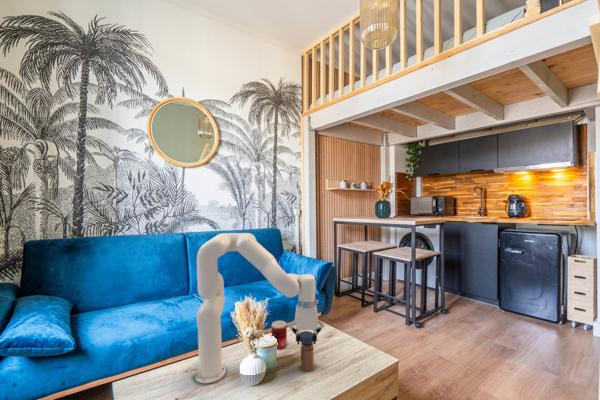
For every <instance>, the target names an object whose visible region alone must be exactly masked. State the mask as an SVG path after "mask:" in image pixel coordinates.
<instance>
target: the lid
mask: <svg viewBox="0 0 600 400" xmlns="http://www.w3.org/2000/svg"><path fill="white" fill-rule="evenodd" d="M313 333H314V332H312V331H309V330H302V331H301V332H299V343H300V344H301V343H304V344H309V343H312V342H313V341H314V334H313ZM313 343H314V342H313Z"/></svg>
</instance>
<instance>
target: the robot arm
mask: <svg viewBox="0 0 600 400" xmlns="http://www.w3.org/2000/svg"><path fill="white" fill-rule="evenodd" d="M227 252H238V253H239V254H240V255H241V256H242V257H244V258H245V259H246V260H247V261H248V262H249V263H250V264H251V265H253V266H254V268H256V269H257V270H258V271H259V272H260V273H261V274H262V276H263V277H264V278H265V279H266V280H267V281H268V282H269V284H271V285H272V286H273V287H274V288H275V289H276V290H277V291H278V292H279V293H280V294H282V295H283V296H284V297H286V298H294V297H296V296H297V297H298V298H297V299H298V300H297V304H296V307H295V314H294V320H292V321H291V322H290V323H289V324H288V328H289V329H290V330H291V331H292V332H293V333H294V335H295V342H296V343H297V345H300V341H299V333H301V332H300V331H309V330H310V331H311V330H312V331H313V332H312V333H313V334H314V341H313V345H316V342H318V335H319V333H320V332H321V331H322V330H323V329H324V328H325V324H324V323H323V322H321V320H320V319H319V315H318V307H317V305H318V304H319V300H318V299H316V277H315V275H313V274H308V273H305V274H304V273H303V274H297V273H287V272H286V271H285V270H284V269H283V268H282V267H281V266H280V264H279V263H278V261H277V259H276V258H275V256H274V255H273V254H272V253H270V251H268V250H267V249H266V248H265V247H264V246H263V245H261V243H259V242H258V241H257V238H256V237H255V235H254V234H252V233H250V232H222V233H218V234H216V235H215V236H214V237H212V238H211V239H209V240H208V241H206V242H205V243H203V244H201V246H200V247H199V249H198V251H197V254H196V281H197V294H198V296H199V297H200V298H201V299H203V302H202V303H201V304H200V306H199V307H198V310H197V313H196V326H197V343H198V344H197V345H198V346H197V348H198V350H197V351H198V353H197V355H198V361H197V365H195V366H190V367H187V369H186V370H187V372H186V374H189V376H193V375H194V380H195V381H196V382H197V383H200V384H212V383H215V382H217V381H219V380H221V379H222V378H224V376H225V374H226V372H227V371H226V366H225V365H224V364H223V354H222V353H223V349H222V347H223V346H222V345H223V344H222V341H223V340H222V323H221V316H222V313H223V311H224V308H225V281H224V277H223V276H222V274H221V273H220V272H219V267H218V266H219V264H218V259H219V258H220V257H222V256H224V255H225V254H227ZM294 326H295V327H294Z"/></svg>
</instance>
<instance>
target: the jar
mask: <svg viewBox="0 0 600 400" xmlns="http://www.w3.org/2000/svg"><path fill="white" fill-rule="evenodd" d="M300 345H301V346H300V369H301V370H302V371H304V372H311V371H313V370H314V368H315V355H314V354H315V347H314V342H312V343H309V344H304V343H301V342H300Z"/></svg>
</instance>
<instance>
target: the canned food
mask: <svg viewBox="0 0 600 400" xmlns="http://www.w3.org/2000/svg"><path fill="white" fill-rule="evenodd" d="M287 329H288V328H287V322H286V321H284V320H274V321H273V322H272V323H271V337H272V336H274V337H275V338H276V339H277V342H278V345H277V349H276V350H280V349H284V348H285V347H286V346H287V344H288V343H287V341H288V337H287V335H288V334H287V333H288V330H287Z"/></svg>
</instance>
